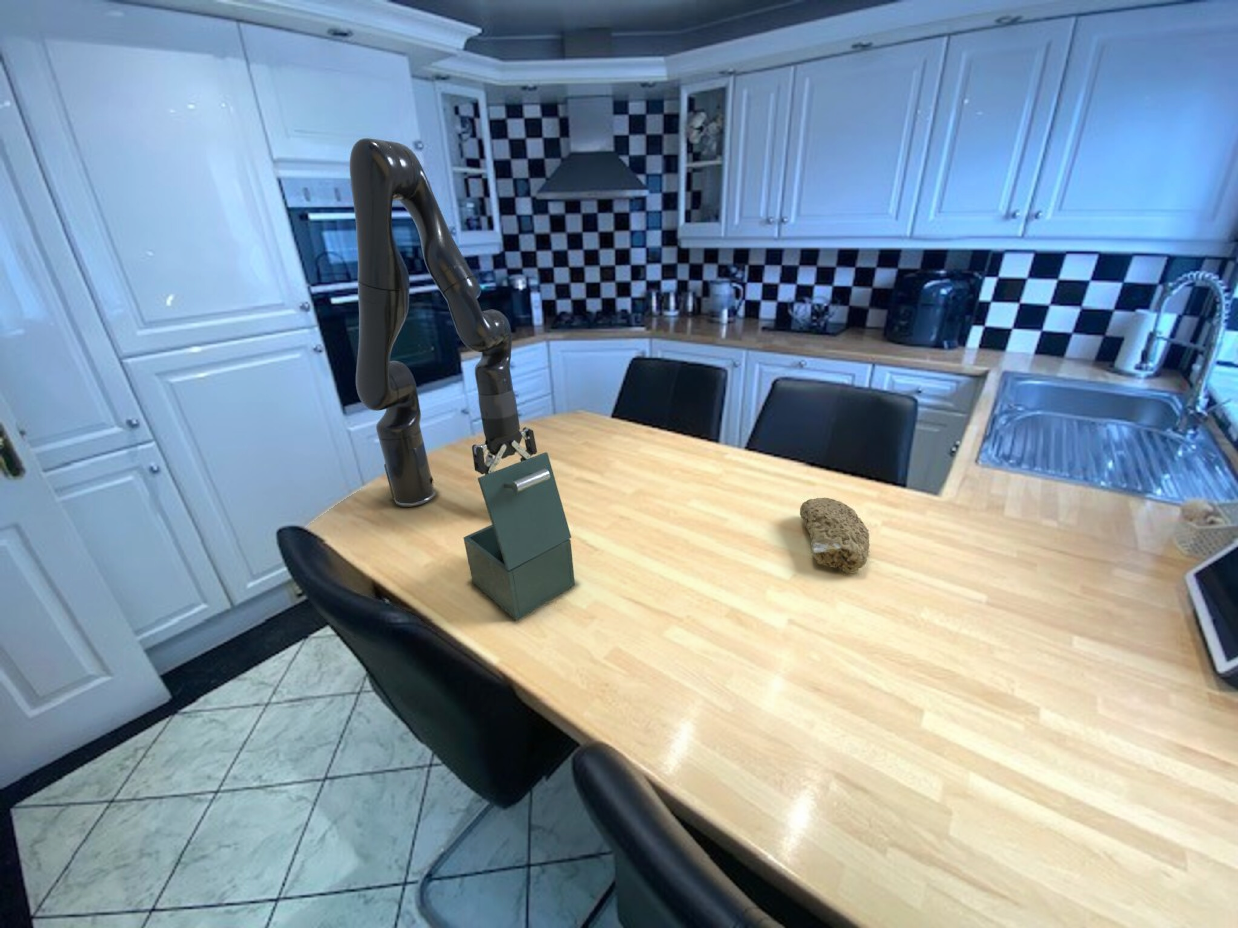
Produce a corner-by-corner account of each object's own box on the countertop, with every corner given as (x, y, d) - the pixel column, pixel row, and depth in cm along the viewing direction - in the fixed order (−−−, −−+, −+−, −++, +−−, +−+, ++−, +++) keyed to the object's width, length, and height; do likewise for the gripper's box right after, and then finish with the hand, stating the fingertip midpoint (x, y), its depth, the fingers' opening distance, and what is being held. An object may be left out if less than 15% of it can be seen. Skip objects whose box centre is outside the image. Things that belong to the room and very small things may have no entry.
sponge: (870, 584, 90) (871, 511, 104) (868, 552, 86) (869, 481, 100) (793, 578, 96) (803, 509, 110) (788, 548, 92) (800, 481, 106)
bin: (472, 581, 93) (463, 537, 89) (529, 552, 101) (523, 510, 97) (516, 620, 84) (507, 572, 79) (575, 584, 91) (570, 539, 87)
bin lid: (477, 478, 76) (492, 479, 72) (545, 452, 84) (562, 452, 80) (506, 569, 80) (523, 575, 76) (569, 537, 87) (587, 540, 83)
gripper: (517, 399, 112) (527, 465, 119) (458, 416, 103) (472, 486, 110) (537, 405, 107) (546, 474, 114) (477, 424, 98) (490, 497, 105)
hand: (510, 480), depth 112 cm, fingers open, 8 cm apart
